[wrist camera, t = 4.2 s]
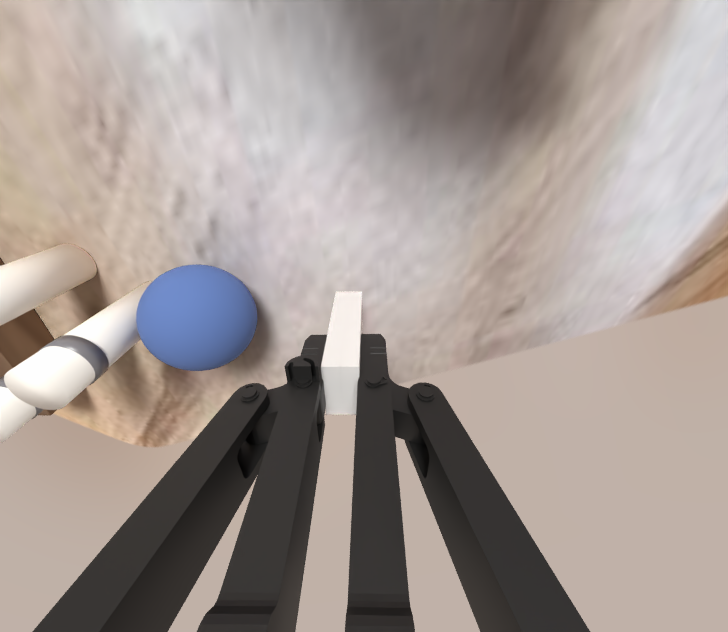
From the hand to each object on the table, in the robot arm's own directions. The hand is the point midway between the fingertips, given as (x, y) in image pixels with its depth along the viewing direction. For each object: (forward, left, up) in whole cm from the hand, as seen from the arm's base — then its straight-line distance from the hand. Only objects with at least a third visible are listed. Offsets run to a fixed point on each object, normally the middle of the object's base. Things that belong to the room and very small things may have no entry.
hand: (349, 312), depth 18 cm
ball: (+7, +5, +1) cm, 8 cm away
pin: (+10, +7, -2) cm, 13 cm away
